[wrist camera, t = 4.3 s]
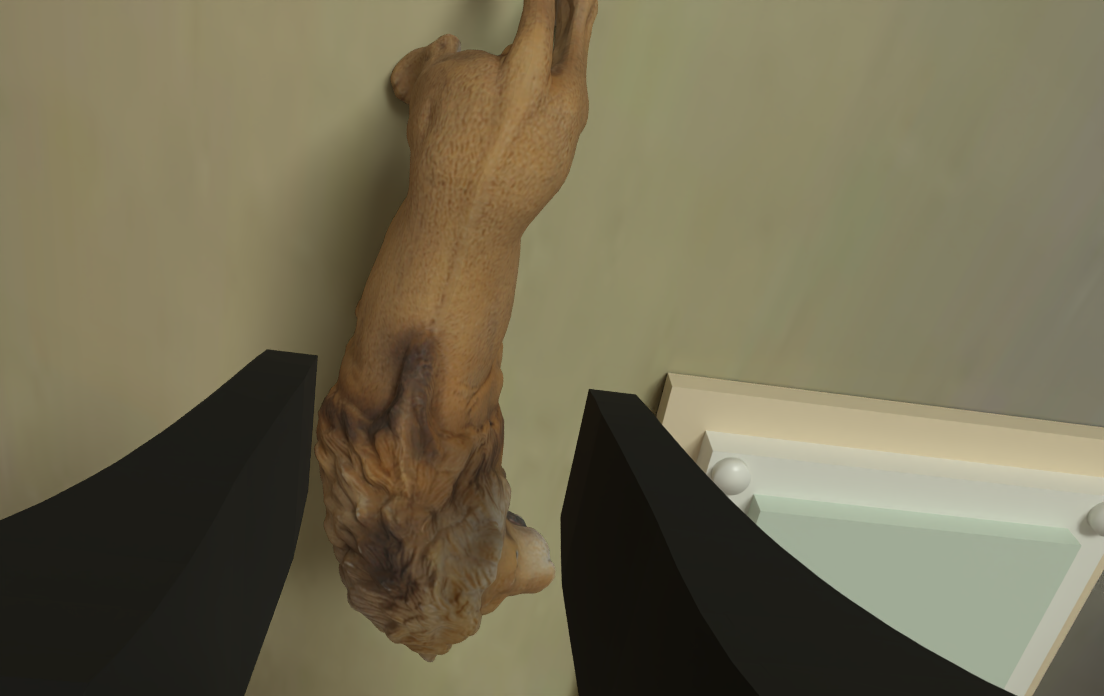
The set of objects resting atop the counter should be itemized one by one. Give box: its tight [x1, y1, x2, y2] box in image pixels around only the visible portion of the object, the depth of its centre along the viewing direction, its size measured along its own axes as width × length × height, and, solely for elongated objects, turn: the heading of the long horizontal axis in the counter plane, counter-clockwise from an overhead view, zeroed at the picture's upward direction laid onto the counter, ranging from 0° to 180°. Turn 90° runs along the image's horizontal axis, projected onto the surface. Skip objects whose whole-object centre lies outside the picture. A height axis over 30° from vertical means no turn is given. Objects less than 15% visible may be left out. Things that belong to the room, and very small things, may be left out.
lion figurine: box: [314, 0, 598, 662], centre depth 16 cm, size 12×4×7 cm, turn 173°
